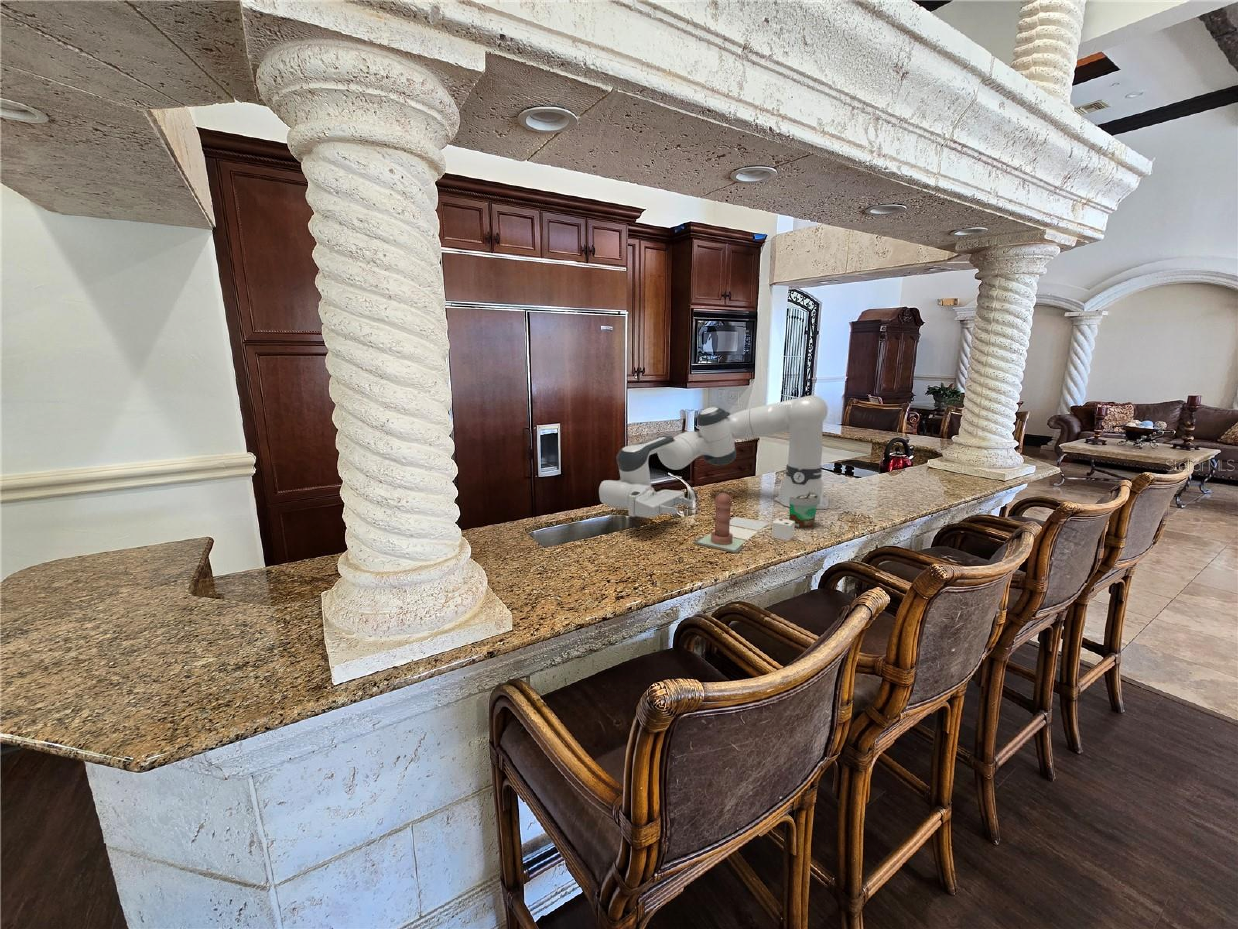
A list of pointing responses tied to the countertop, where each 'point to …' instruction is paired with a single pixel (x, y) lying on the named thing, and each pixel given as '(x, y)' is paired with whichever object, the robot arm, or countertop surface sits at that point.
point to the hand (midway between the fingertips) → (684, 507)
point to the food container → (804, 510)
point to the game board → (734, 534)
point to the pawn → (722, 520)
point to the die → (783, 529)
